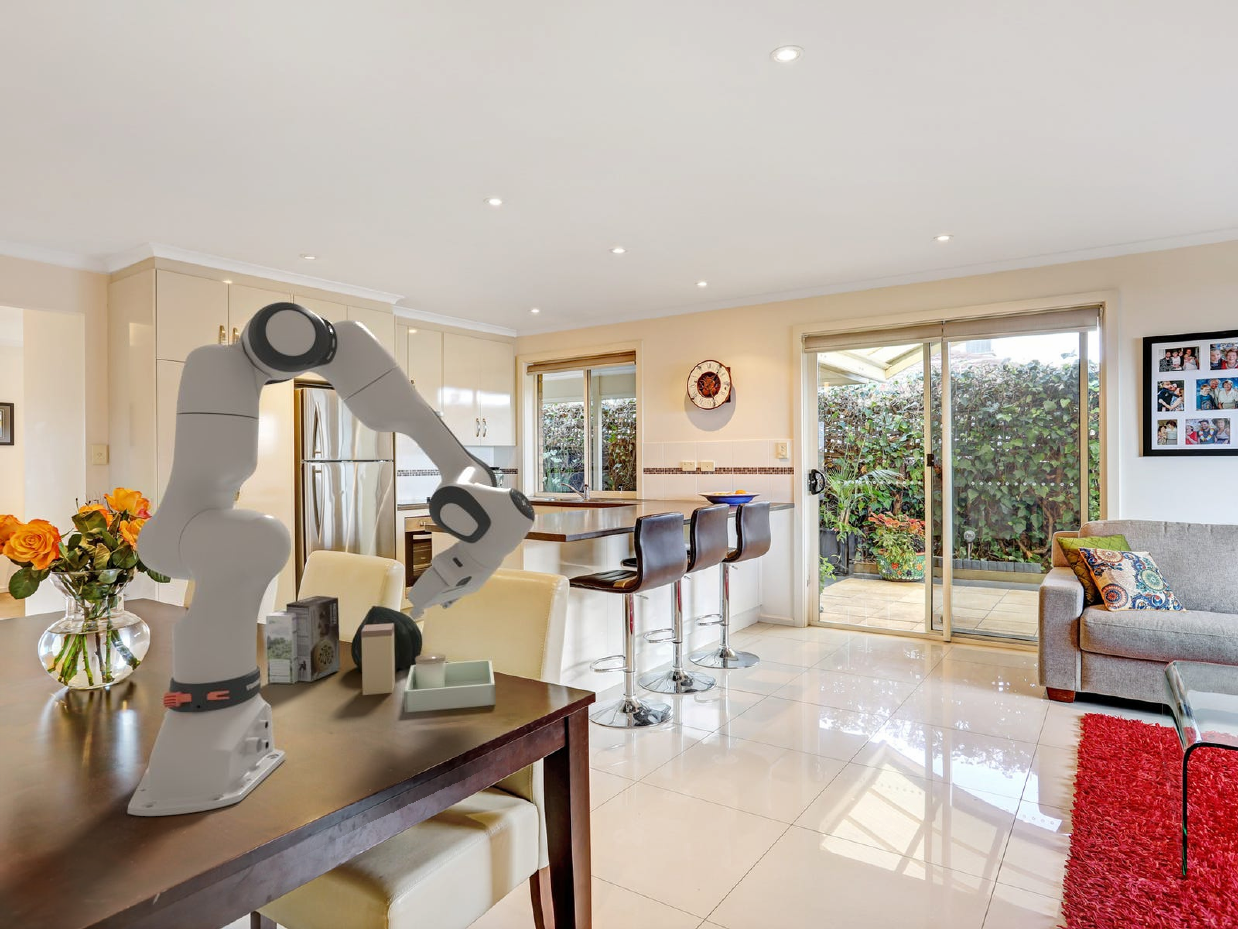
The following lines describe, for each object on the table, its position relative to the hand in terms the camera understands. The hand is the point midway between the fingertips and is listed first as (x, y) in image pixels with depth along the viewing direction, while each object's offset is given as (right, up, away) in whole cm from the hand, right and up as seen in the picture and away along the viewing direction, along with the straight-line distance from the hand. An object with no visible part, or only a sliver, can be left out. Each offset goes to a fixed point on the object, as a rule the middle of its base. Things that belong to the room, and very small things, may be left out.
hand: (429, 611), depth 138 cm
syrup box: (-34, -18, +14) cm, 41 cm away
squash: (-15, -17, +20) cm, 30 cm away
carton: (-11, -17, +5) cm, 21 cm away
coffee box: (-29, -17, +17) cm, 38 cm away
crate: (+4, -17, +1) cm, 17 cm away
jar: (-1, -16, +5) cm, 17 cm away
